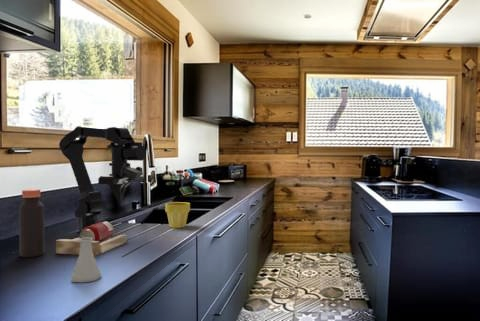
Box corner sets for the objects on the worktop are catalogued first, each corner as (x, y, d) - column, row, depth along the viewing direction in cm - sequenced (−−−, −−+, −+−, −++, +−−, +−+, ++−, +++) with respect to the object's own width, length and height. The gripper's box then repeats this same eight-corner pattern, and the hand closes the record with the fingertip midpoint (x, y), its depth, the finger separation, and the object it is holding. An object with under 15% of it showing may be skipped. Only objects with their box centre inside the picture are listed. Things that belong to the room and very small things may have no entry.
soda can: (109, 217, 136) (90, 224, 124) (118, 234, 136) (99, 242, 124) (94, 226, 137) (74, 233, 125) (103, 242, 137) (83, 251, 125)
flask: (76, 274, 98) (76, 235, 98) (105, 273, 98) (104, 235, 98) (65, 284, 91) (65, 242, 90) (97, 283, 91) (96, 241, 91)
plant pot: (194, 225, 163) (194, 202, 163) (180, 229, 154) (180, 205, 153) (175, 223, 167) (174, 201, 167) (160, 227, 158) (160, 204, 158)
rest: (56, 253, 118) (55, 240, 118) (90, 240, 136) (90, 229, 136) (95, 255, 115) (95, 242, 115) (126, 242, 133) (126, 230, 133)
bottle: (14, 256, 115) (13, 190, 114) (33, 251, 121) (32, 188, 121) (31, 258, 112) (30, 191, 112) (49, 252, 119) (48, 189, 118)
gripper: (125, 161, 133) (125, 205, 133) (150, 160, 151) (150, 199, 151) (97, 160, 136) (97, 204, 136) (125, 159, 154) (125, 198, 154)
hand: (119, 201), depth 144 cm, fingers closed
